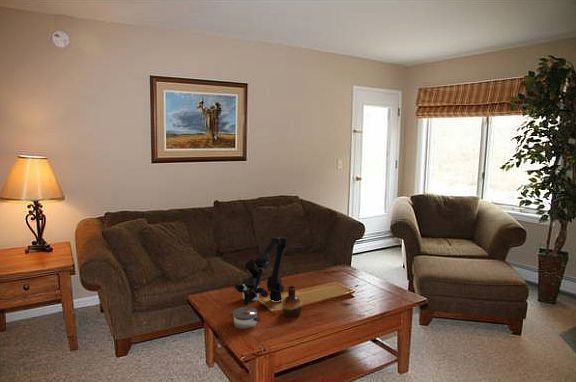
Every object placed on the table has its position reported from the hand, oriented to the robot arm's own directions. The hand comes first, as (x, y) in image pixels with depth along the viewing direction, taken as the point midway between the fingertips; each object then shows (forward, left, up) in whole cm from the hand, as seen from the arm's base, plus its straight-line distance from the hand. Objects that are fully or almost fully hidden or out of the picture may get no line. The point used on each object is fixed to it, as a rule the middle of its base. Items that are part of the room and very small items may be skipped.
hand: (245, 305), depth 208 cm
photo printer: (+3, -31, -10) cm, 33 cm away
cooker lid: (0, 0, -5) cm, 5 cm away
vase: (-24, -11, -10) cm, 29 cm away
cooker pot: (0, 0, -10) cm, 10 cm away
